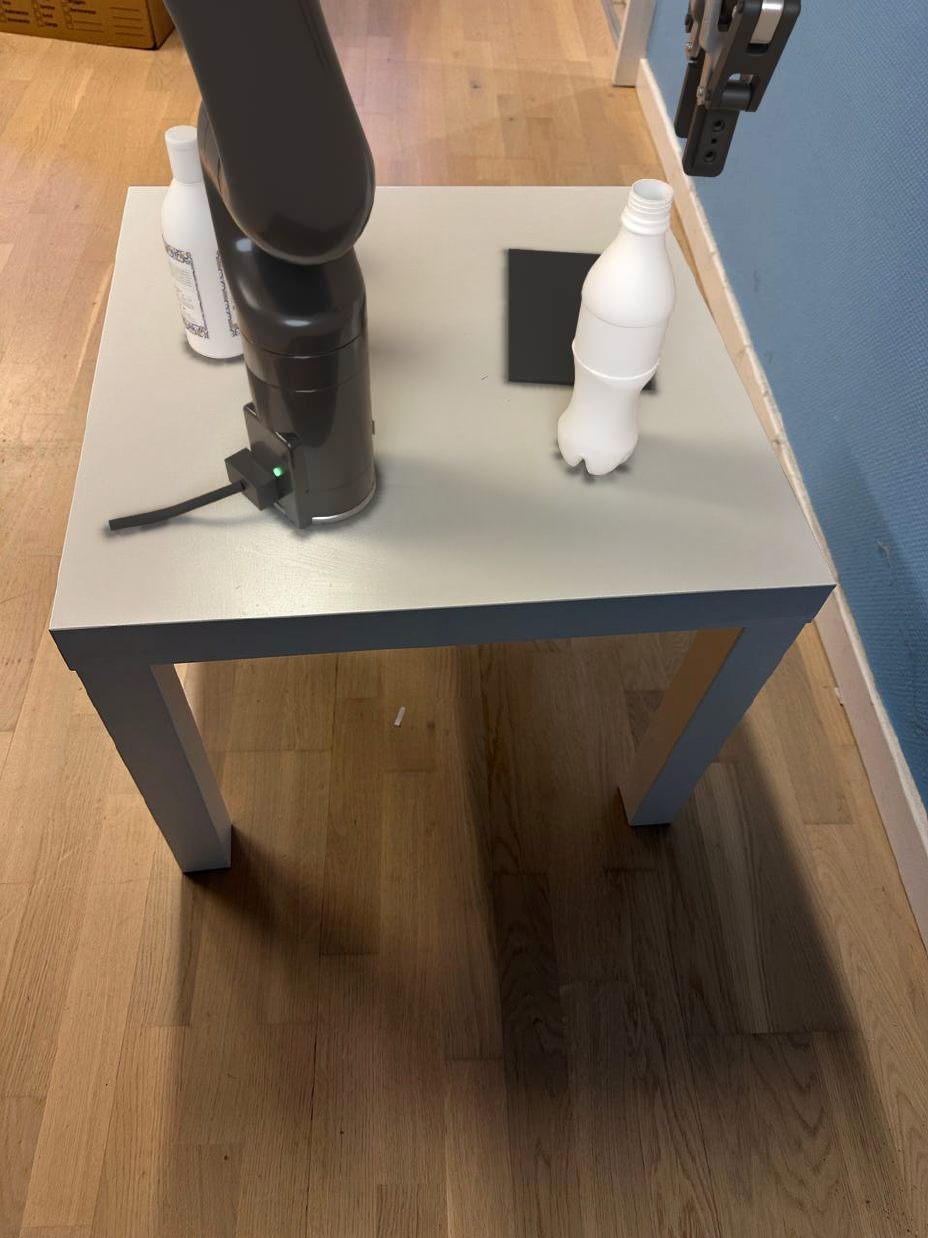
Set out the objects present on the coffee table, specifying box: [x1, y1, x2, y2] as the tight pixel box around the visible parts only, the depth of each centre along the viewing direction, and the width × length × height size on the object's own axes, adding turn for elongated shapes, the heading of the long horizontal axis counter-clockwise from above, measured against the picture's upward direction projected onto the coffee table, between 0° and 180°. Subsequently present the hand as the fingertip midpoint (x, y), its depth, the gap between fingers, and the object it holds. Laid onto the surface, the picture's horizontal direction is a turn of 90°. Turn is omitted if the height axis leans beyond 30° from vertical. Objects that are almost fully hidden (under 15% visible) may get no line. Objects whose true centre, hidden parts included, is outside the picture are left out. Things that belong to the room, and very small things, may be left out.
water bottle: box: [557, 178, 677, 476], centre depth 72 cm, size 7×7×25 cm
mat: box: [508, 248, 653, 390], centre depth 94 cm, size 22×14×1 cm, turn 178°
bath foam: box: [160, 124, 244, 359], centre depth 81 cm, size 7×7×20 cm
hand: (696, 152), depth 50 cm, fingers open, 3 cm apart
